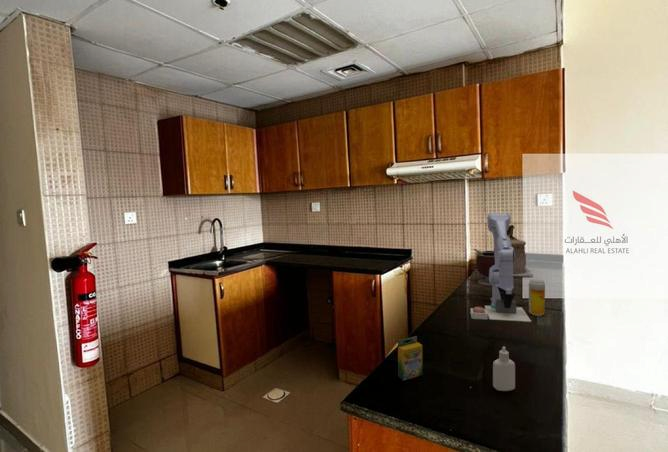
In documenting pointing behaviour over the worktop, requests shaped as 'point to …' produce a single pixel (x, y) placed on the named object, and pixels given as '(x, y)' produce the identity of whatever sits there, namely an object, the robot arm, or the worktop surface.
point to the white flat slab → (508, 315)
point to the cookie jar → (518, 255)
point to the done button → (478, 310)
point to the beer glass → (536, 297)
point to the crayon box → (409, 359)
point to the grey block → (501, 309)
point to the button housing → (479, 314)
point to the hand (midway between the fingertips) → (505, 305)
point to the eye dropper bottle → (503, 372)
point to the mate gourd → (484, 265)
